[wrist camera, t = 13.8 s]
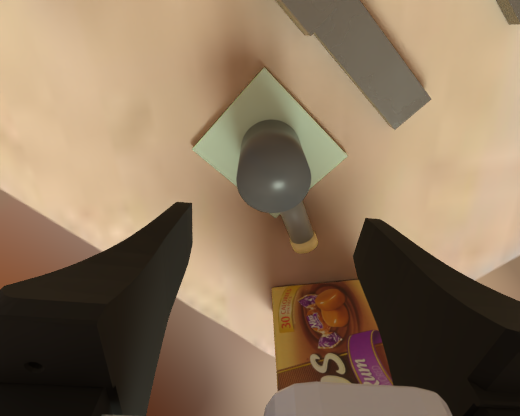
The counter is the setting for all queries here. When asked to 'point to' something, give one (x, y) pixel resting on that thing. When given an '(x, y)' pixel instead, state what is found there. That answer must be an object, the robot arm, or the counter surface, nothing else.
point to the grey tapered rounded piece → (277, 178)
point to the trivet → (258, 109)
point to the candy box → (327, 335)
